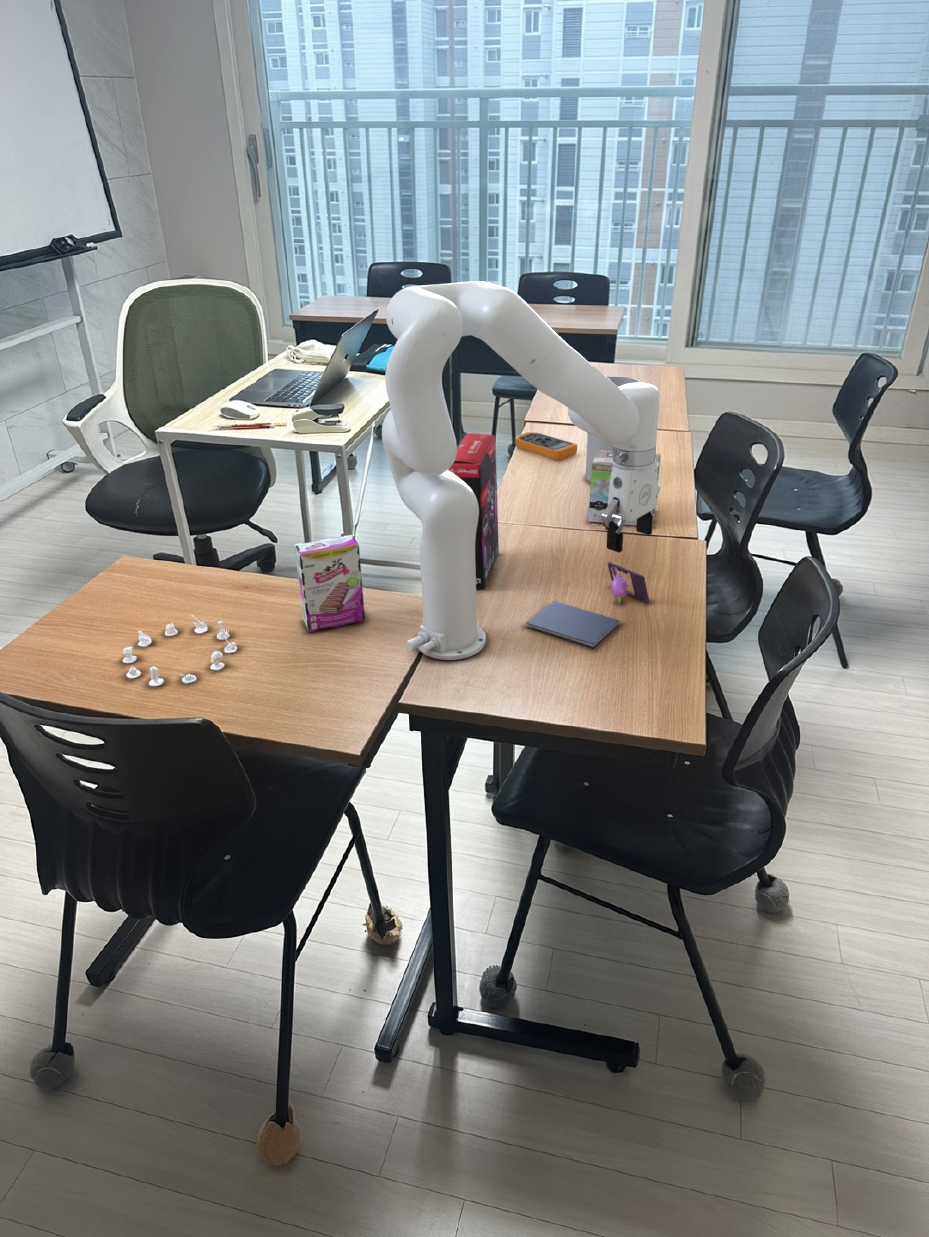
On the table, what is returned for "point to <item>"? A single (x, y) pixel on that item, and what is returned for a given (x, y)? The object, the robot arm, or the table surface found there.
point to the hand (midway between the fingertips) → (629, 541)
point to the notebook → (573, 624)
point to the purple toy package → (621, 584)
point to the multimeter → (545, 445)
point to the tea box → (604, 485)
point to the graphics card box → (481, 497)
